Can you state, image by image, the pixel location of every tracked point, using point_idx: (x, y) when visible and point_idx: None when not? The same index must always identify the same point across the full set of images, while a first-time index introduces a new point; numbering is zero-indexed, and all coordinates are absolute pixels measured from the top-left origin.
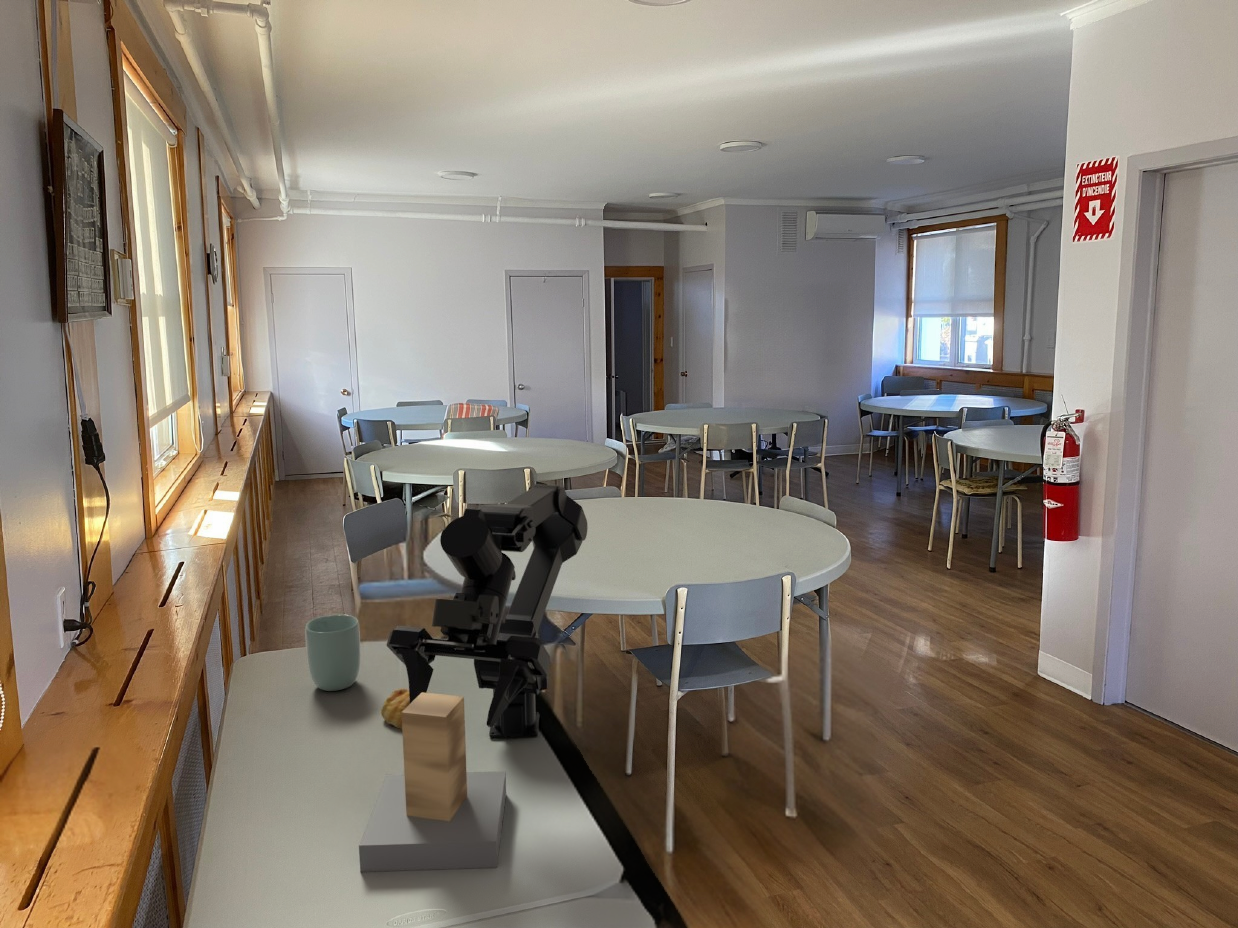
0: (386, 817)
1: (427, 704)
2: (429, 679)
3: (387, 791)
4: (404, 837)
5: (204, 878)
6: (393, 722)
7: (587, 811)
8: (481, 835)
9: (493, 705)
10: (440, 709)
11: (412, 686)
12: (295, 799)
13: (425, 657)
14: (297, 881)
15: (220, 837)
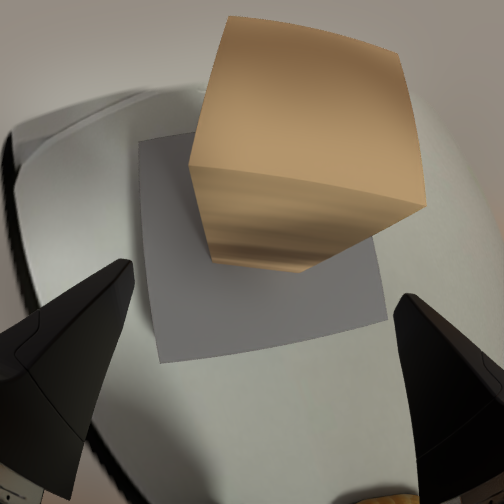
0: None
1: (345, 90)
2: (421, 465)
3: (365, 264)
4: None
5: (456, 143)
6: (408, 495)
7: None
8: (162, 151)
9: (88, 289)
10: (269, 52)
11: (471, 350)
12: (465, 291)
13: (479, 502)
14: None
15: (484, 207)
